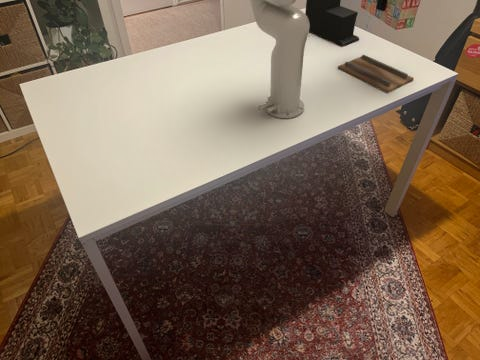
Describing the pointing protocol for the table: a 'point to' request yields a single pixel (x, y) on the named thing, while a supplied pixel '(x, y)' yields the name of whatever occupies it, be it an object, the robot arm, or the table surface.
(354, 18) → the bookend
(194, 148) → the table surface
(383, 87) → the slot board
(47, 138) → the table surface
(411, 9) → the stack of blocks
